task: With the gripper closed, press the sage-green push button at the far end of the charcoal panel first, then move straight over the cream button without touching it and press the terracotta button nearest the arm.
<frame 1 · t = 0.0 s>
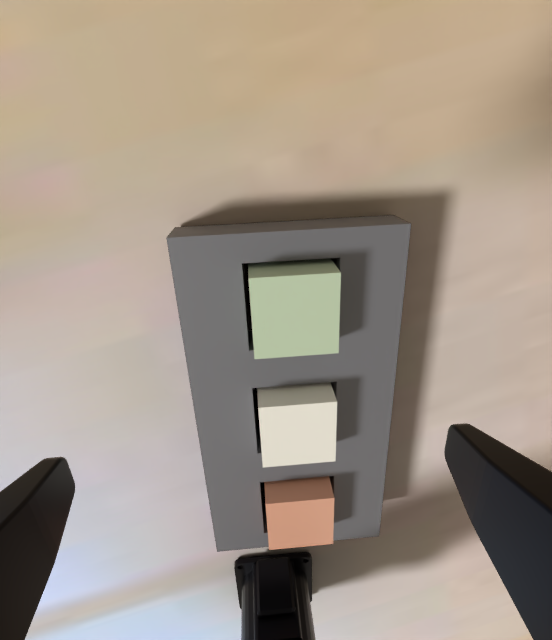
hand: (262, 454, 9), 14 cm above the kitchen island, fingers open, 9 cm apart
button panel: (291, 394, 26), on the kitchen island
cream button: (296, 421, 24), point 3 cm above the kitchen island, slide at 0.0 cm
sage button: (293, 307, 20), point 3 cm above the kitchen island, slide at 0.0 cm
terracotta button: (298, 508, 27), point 3 cm above the kitchen island, slide at 0.0 cm
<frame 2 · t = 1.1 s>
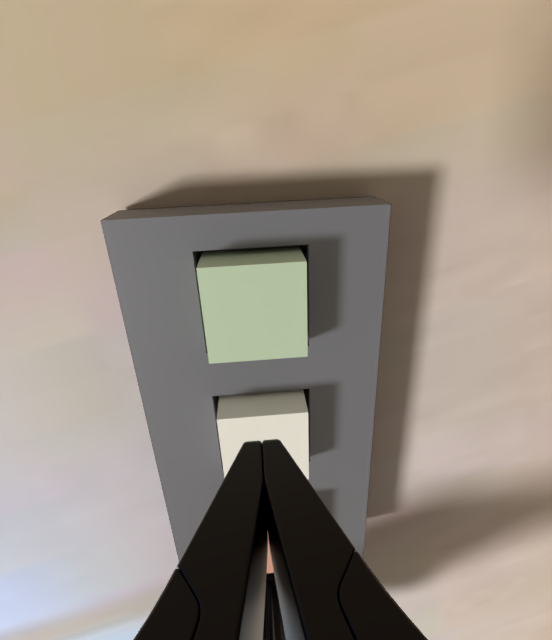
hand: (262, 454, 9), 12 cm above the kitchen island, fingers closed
button panel: (262, 402, 23), on the kitchen island
cream button: (264, 434, 21), point 3 cm above the kitchen island, slide at 0.0 cm
sage button: (254, 303, 18), point 3 cm above the kitchen island, slide at 0.0 cm
terracotta button: (270, 529, 24), point 3 cm above the kitchen island, slide at 0.0 cm
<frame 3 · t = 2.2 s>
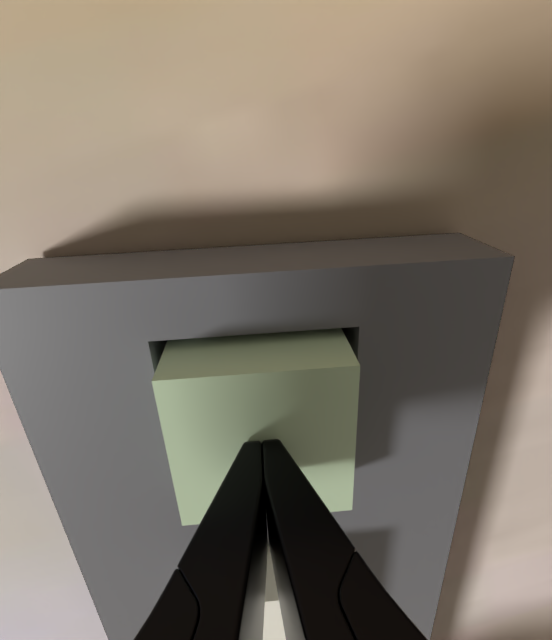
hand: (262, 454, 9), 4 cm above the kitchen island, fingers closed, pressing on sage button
button panel: (270, 527, 16), on the kitchen island
cream button: (274, 600, 13), point 3 cm above the kitchen island, slide at 0.0 cm
sage button: (261, 418, 10), point 2 cm above the kitchen island, slide at 0.3 cm, touching gripper
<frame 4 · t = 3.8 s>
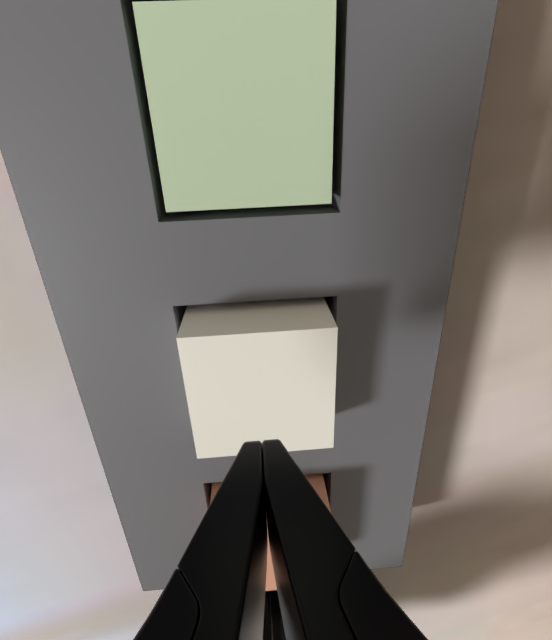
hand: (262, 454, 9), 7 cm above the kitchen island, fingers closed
button panel: (258, 334, 15), on the kitchen island
cream button: (260, 374, 13), point 3 cm above the kitchen island, slide at 0.0 cm
sage button: (243, 115, 10), point 1 cm above the kitchen island, slide at 1.3 cm
terracotta button: (270, 526, 16), point 3 cm above the kitchen island, slide at 0.0 cm
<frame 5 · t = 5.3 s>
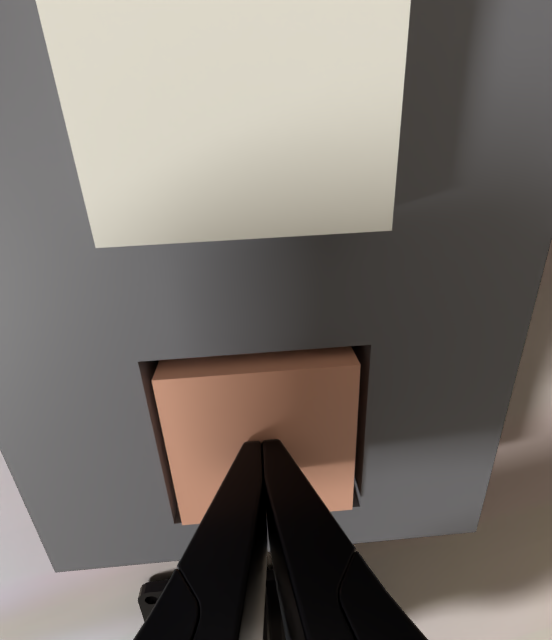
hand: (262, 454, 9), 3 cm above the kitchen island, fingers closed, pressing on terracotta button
button panel: (238, 96, 8), on the kitchen island
cream button: (235, 78, 6), point 3 cm above the kitchen island, slide at 0.0 cm
terracotta button: (261, 417, 10), point 2 cm above the kitchen island, slide at 1.2 cm, touching gripper
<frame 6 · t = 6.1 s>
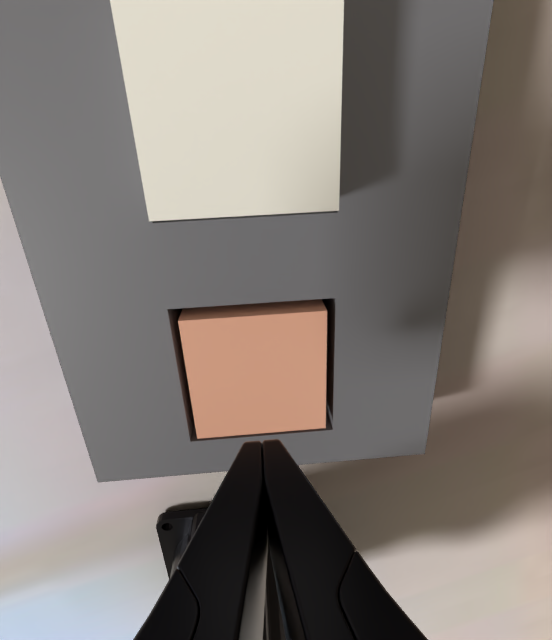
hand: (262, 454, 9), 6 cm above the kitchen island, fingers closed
button panel: (239, 119, 12), on the kitchen island
cream button: (238, 112, 9), point 3 cm above the kitchen island, slide at 0.0 cm
terracotta button: (256, 359, 13), point 1 cm above the kitchen island, slide at 1.3 cm
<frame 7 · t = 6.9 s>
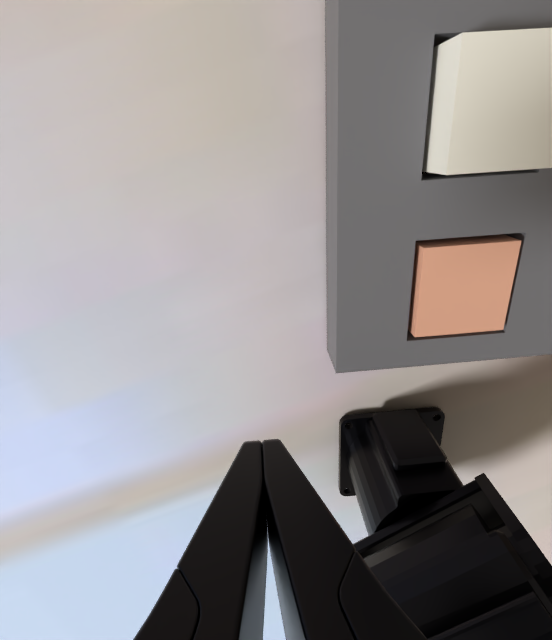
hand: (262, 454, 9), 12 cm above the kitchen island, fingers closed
button panel: (458, 112, 17), on the kitchen island
cream button: (494, 107, 15), point 3 cm above the kitchen island, slide at 0.0 cm
terracotta button: (452, 282, 19), point 1 cm above the kitchen island, slide at 1.3 cm
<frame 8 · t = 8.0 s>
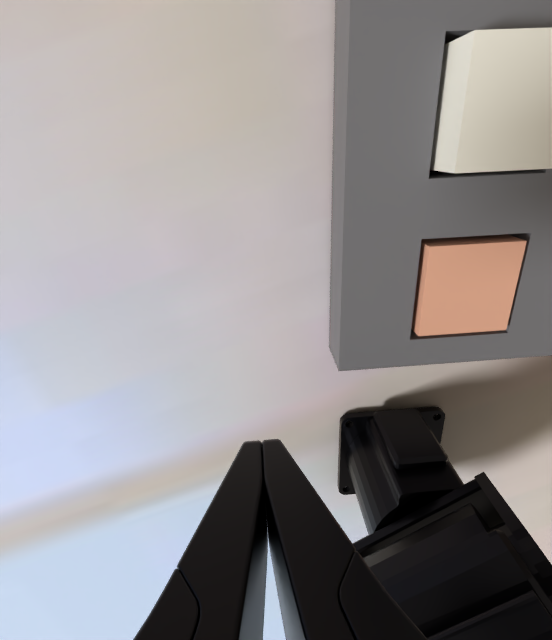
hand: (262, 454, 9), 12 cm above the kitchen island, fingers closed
button panel: (466, 111, 17), on the kitchen island
cream button: (503, 106, 15), point 3 cm above the kitchen island, slide at 0.0 cm
terracotta button: (456, 281, 19), point 1 cm above the kitchen island, slide at 1.3 cm
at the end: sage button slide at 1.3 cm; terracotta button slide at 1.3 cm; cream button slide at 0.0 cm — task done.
